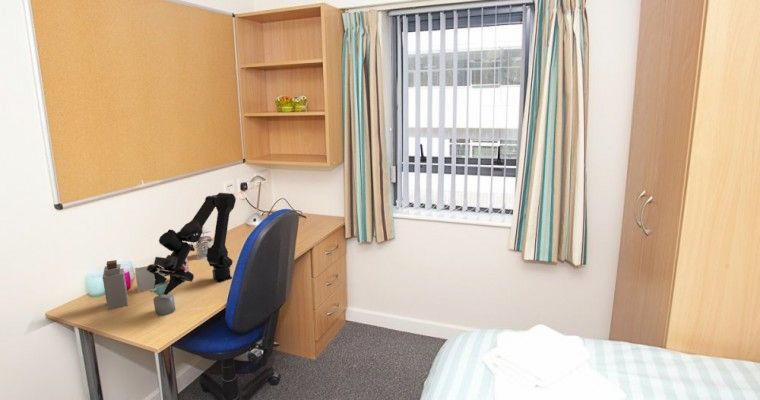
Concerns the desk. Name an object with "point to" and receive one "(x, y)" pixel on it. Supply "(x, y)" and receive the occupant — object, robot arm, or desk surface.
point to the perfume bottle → (115, 285)
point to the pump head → (160, 289)
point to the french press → (203, 244)
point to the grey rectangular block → (144, 279)
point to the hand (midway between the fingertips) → (159, 293)
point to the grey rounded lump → (164, 305)
